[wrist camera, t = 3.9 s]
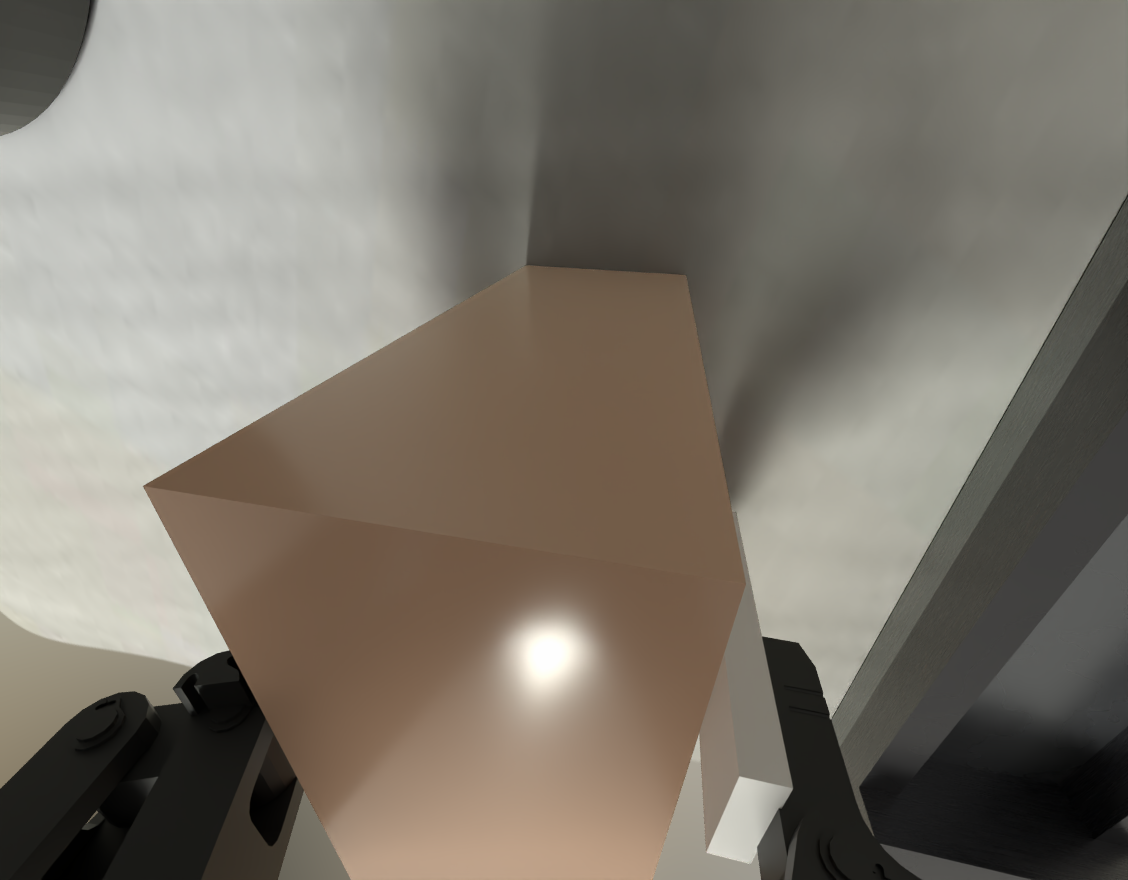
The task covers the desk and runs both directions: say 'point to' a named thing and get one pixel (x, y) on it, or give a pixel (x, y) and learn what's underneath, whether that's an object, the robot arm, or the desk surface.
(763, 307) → the desk surface
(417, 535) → the orange rectangular block
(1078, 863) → the dark grey tray
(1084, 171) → the desk surface
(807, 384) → the desk surface
